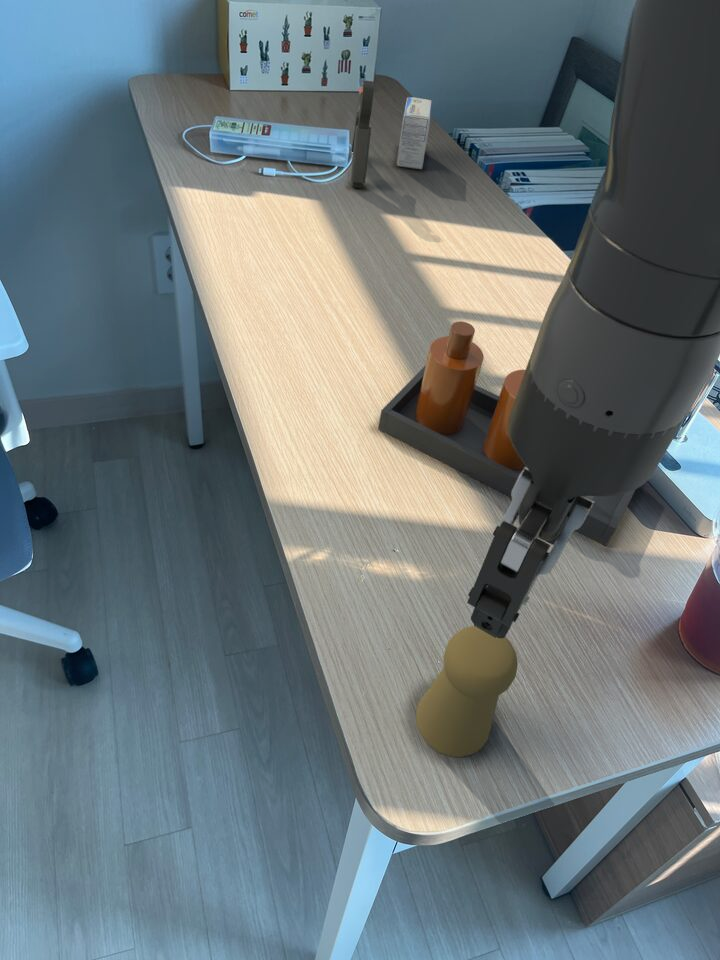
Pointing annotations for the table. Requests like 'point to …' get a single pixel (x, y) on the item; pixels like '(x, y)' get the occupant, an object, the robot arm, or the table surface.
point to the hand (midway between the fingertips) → (517, 578)
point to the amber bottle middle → (504, 425)
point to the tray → (482, 452)
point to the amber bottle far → (449, 380)
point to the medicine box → (414, 133)
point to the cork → (466, 692)
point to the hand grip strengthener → (362, 135)
